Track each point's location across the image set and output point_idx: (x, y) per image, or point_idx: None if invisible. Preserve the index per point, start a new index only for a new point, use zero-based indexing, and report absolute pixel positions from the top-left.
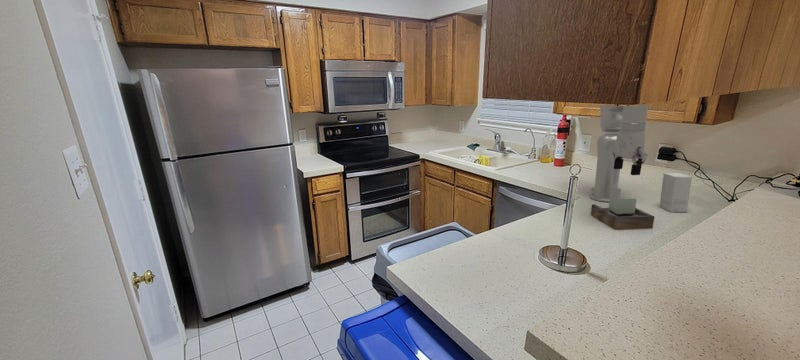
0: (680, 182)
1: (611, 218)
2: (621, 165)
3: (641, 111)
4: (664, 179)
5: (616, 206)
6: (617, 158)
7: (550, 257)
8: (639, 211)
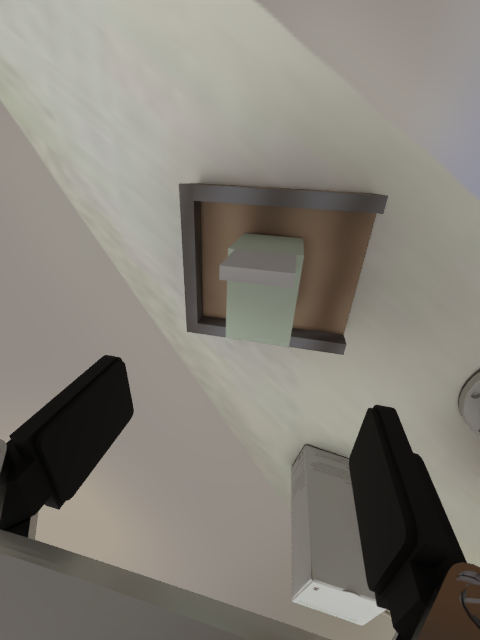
0: (302, 558)
1: (218, 185)
2: (357, 490)
3: None
4: None
5: (245, 240)
6: (422, 588)
7: None
8: None
